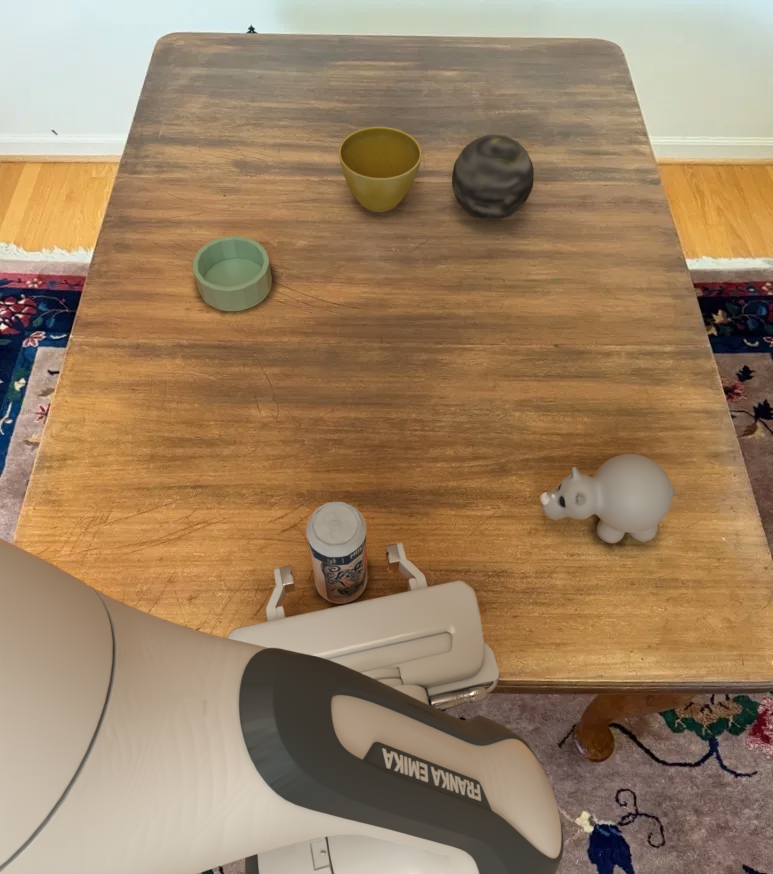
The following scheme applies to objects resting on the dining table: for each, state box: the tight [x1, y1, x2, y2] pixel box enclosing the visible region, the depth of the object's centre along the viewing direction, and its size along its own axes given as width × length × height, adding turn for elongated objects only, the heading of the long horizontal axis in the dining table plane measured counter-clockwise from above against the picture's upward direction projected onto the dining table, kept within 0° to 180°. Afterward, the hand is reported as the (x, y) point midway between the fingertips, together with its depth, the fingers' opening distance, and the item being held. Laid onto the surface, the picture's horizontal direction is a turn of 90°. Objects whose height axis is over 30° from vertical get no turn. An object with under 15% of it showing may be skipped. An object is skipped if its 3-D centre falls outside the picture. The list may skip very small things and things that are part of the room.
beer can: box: [305, 501, 368, 604], centre depth 63 cm, size 5×5×12 cm
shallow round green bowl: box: [191, 235, 273, 312], centre depth 86 cm, size 9×9×4 cm
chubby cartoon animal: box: [539, 453, 676, 544], centre depth 69 cm, size 7×12×8 cm, turn 91°
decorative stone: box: [451, 133, 535, 222], centre depth 91 cm, size 10×10×10 cm
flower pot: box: [338, 126, 423, 213], centre depth 93 cm, size 10×10×7 cm
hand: (338, 557), depth 63 cm, fingers open, 8 cm apart
